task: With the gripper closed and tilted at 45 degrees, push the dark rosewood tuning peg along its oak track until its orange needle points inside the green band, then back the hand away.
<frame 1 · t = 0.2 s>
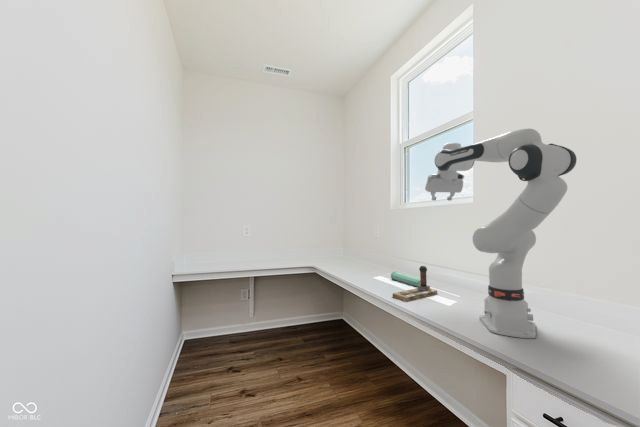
hand: (441, 200, 150), 52 cm above the table, tool tilted 20°, fingers open, 8 cm apart
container: (406, 283, 183), on the table
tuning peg: (425, 278, 155), point 9 cm above the table, slide at 0.0 cm
wooden base board: (415, 295, 153), on the table
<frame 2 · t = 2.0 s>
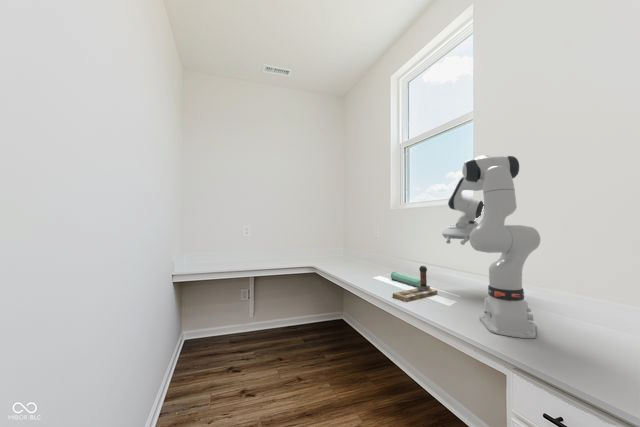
hand: (454, 243, 158), 28 cm above the table, tool tilted 45°, fingers open, 7 cm apart
nothing on the table moved.
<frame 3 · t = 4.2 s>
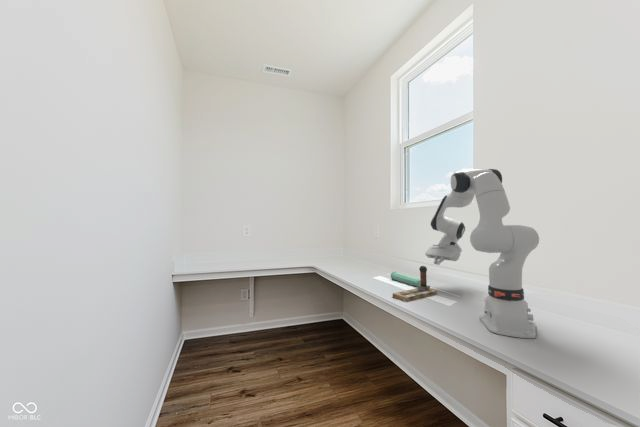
hand: (436, 263, 163), 16 cm above the table, tool tilted 45°, fingers closed
nothing on the table moved.
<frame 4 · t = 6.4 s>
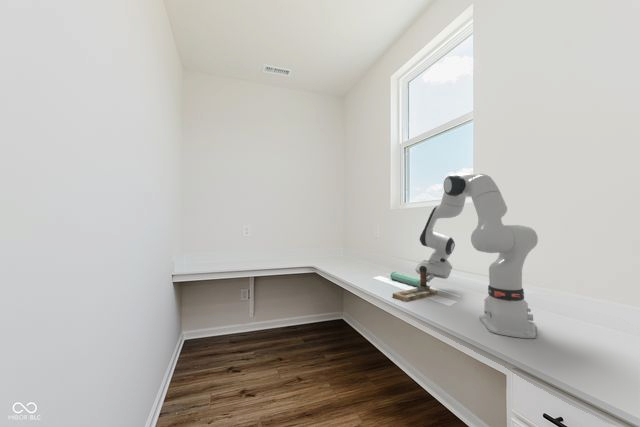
hand: (426, 281, 158), 7 cm above the table, tool tilted 45°, fingers closed, pressing on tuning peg
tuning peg: (425, 278, 155), point 9 cm above the table, slide at 0.1 cm, touching gripper
everything else where it was.
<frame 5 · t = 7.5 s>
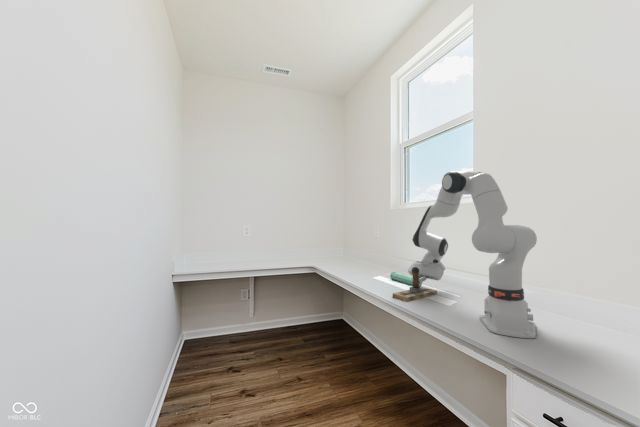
hand: (418, 282, 154), 7 cm above the table, tool tilted 45°, fingers closed, pressing on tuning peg
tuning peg: (417, 279, 152), point 9 cm above the table, slide at 6.3 cm, touching gripper
everything else where it was.
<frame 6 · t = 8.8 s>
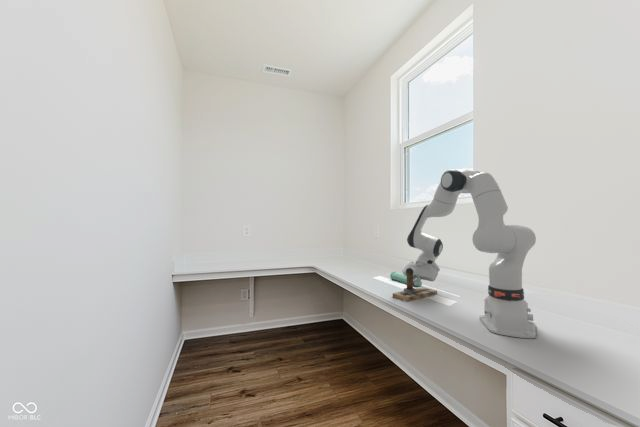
hand: (412, 283, 152), 7 cm above the table, tool tilted 45°, fingers closed, pressing on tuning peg
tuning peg: (411, 280, 150), point 9 cm above the table, slide at 11.0 cm, touching gripper
everything else where it was.
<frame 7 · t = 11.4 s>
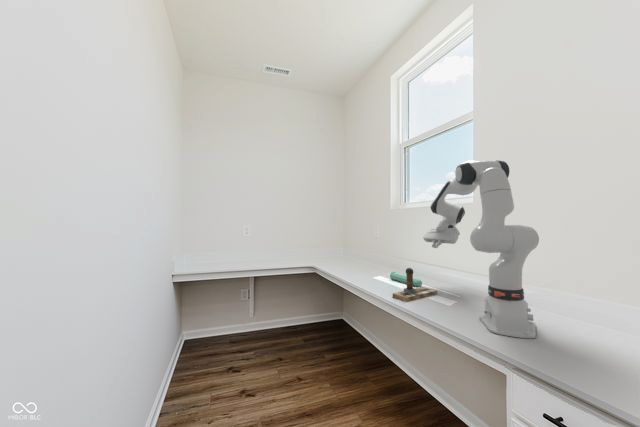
hand: (434, 247, 162), 25 cm above the table, tool tilted 45°, fingers closed
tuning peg: (411, 280, 150), point 9 cm above the table, slide at 11.0 cm
everything else where it was.
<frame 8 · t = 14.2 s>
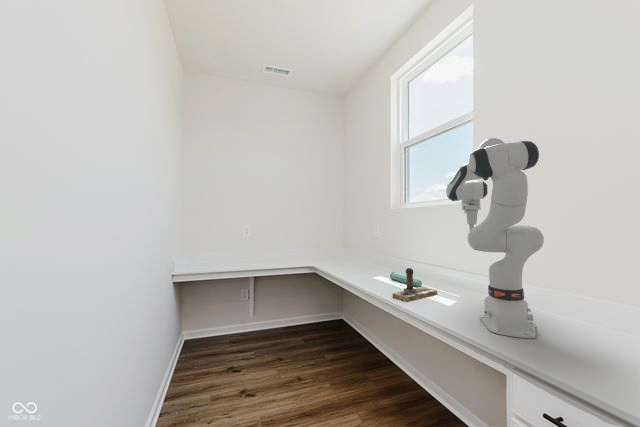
hand: (471, 232, 149), 34 cm above the table, tool pointing down, fingers closed
nothing on the table moved.
at the end: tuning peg slide at 11.0 cm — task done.
